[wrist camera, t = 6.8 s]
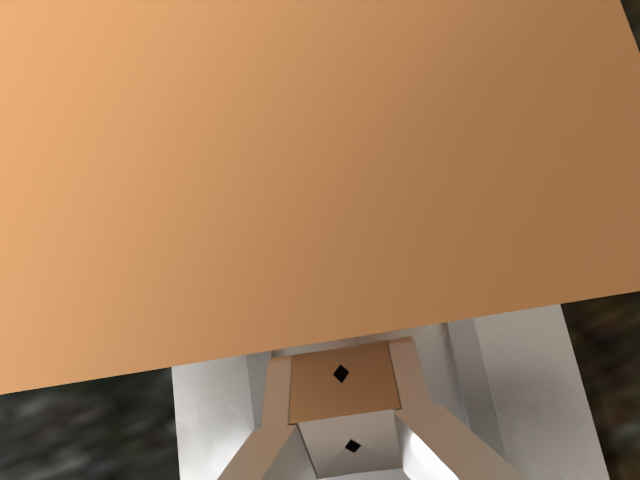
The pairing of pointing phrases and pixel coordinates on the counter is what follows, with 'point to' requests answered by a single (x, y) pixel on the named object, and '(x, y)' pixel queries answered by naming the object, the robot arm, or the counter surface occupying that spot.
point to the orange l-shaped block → (303, 173)
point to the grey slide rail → (444, 388)
